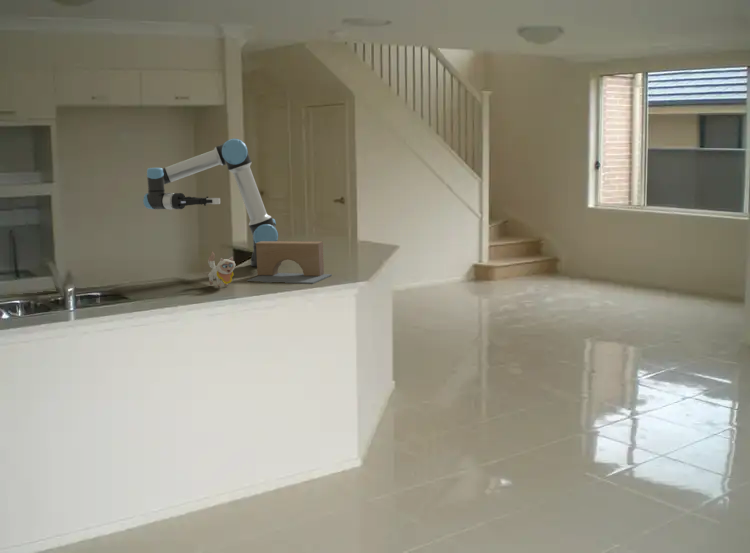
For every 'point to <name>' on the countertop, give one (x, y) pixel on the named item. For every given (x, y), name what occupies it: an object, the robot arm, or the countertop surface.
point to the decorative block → (290, 256)
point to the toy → (221, 270)
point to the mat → (290, 278)
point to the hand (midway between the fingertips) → (219, 201)
